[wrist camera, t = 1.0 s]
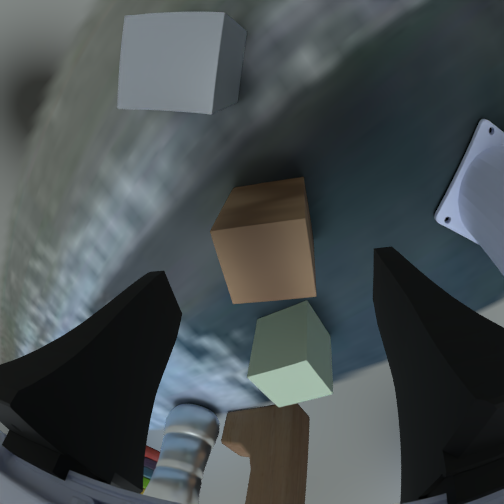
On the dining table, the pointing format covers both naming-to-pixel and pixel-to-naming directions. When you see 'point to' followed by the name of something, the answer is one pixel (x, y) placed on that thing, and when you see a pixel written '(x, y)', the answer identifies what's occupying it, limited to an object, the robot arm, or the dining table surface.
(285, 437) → the wooden block
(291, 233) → the walnut block
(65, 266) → the dining table surface
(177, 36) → the grey block
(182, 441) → the plastic bottle
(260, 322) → the sage block
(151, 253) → the dining table surface
